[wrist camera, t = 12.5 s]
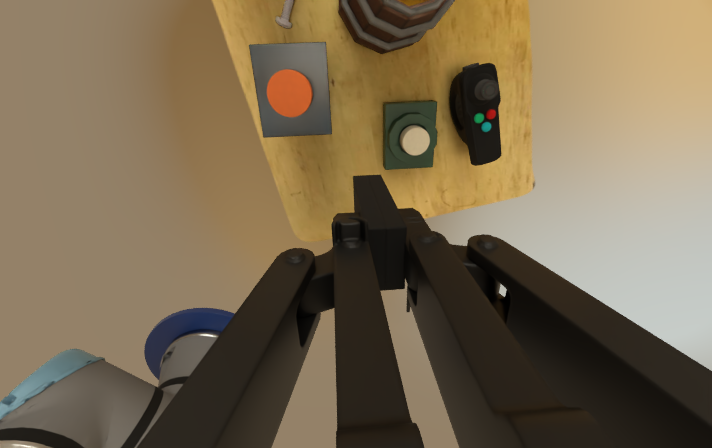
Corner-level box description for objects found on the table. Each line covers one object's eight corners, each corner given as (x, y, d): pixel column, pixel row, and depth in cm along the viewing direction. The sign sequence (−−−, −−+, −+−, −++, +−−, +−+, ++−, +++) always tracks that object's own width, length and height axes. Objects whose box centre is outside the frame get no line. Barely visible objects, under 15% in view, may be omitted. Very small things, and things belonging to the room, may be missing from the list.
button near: (314, 114, 28) (313, 116, 27) (273, 116, 28) (270, 118, 26) (310, 68, 26) (309, 68, 25) (266, 70, 26) (263, 70, 25)
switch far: (428, 163, 49) (436, 170, 45) (383, 166, 48) (387, 173, 45) (432, 100, 45) (441, 102, 41) (383, 102, 44) (387, 105, 41)
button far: (424, 151, 44) (429, 154, 42) (399, 152, 44) (402, 156, 42) (426, 124, 43) (430, 126, 41) (399, 125, 42) (403, 128, 41)
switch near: (331, 114, 45) (331, 134, 30) (285, 116, 44) (263, 137, 30) (327, 53, 41) (325, 42, 27) (277, 54, 41) (248, 44, 27)
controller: (469, 60, 43) (507, 57, 34) (481, 148, 48) (515, 165, 39) (438, 70, 43) (467, 70, 34) (453, 157, 48) (481, 176, 39)
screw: (275, 24, 40) (273, 21, 38) (287, -21, 38) (285, -26, 36) (291, 31, 40) (289, 29, 38) (303, -13, 38) (302, -18, 36)
